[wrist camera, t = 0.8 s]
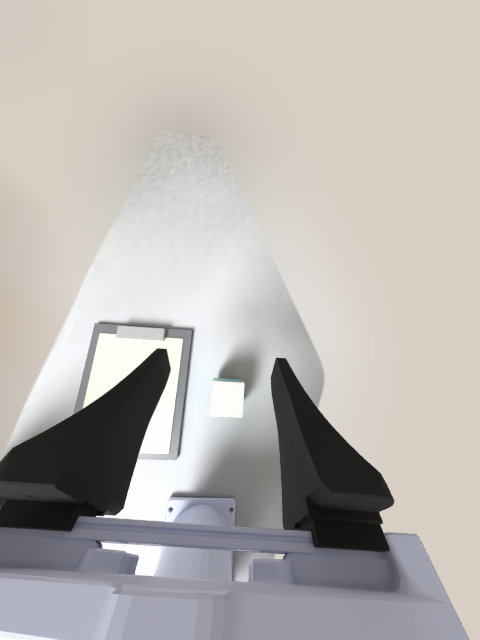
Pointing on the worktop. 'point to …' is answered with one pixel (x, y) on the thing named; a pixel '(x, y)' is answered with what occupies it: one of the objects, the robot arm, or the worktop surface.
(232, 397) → the teal-topped white block
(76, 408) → the clipboard
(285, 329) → the worktop surface
